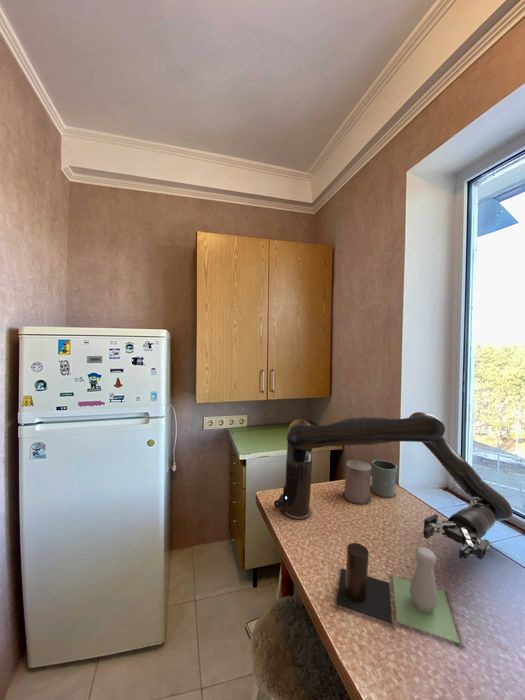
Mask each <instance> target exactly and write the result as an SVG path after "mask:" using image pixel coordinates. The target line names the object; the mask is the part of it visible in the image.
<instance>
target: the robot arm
mask: <svg viewBox="0 0 525 700" xmlns="http://www.w3.org/2000/svg"><path fill="white" fill-rule="evenodd" d="M445 432H446V426H445V423H443V421H442V420H441V419H440V418H439V417H438V416H436V415H434V414H432V413H429V412H426V411H425V412H424V411H416V412H413V413H412V414H410V415H409V417H405V418H385V417H377V416H376V417H374V416H363V417H352V418H345V419H342V420H338V421H336V422H333V423H330V424H329V423H328V424H323V425H312V424H310V422H309V421H307V420H305V419H303V418H299V419H295V420H293V421H292V422H291V423H290V424H289V426H288V428H287V433H286V441H287V443H286V444H287V445H286V446H287V447H286V458H285V478H284V479H285V482H284V485H283V489H282V490H283V491H282V494H280V496H279V497H278V499H276V500H275V501H274V502H273V505H274V507H275V508H276V509H277V508H278V509H281V510H282V511H281V513H282V514H285V515H286V516H287V517H289V518H291V519H296V520H302V519H306V518H308V517H309V516H310V515H311V514H310V513H311V510H310V509H311V489H312V488H311V487H312V486H311V485H312V468H313V467H312V465H313V449H319V448H327V447H347V446H348V447H349V446H370V445H383V444H391V443H398V442H401V443H402V442H409V443H410V442H413V443H422V444H423V445H424V446H425V447H426V448H427V449H428V450H429V451H430V453H431V454H432V455H433V456H434V457H435V458H436V459H437V460H438V462H439V463H440V464H441V465H442V467H443V468H444V470H445V471H446V472H447V473H448V474H449V476H450V477H451V478H452V479H453V481H454V482H455V484H456V485H457V486H458V487H459V488H460V490H461V491H462V492H463V493H464V494H465V495H466V496H467V497H471V498H472V499H470V502H469V504H468V505H467V506H466V507H464V508H462V509H460V510H458V511H457V512H455V513H454V514H452V515H450V517H449V518H448V519H447V520H441V519H440V518H439V516H438V515H437V514H433V515H431V516H429V517H426V518H424V519H423V520H424V521H423V531H422V532H423V533H422V534H423V537H424V538H425V539H426V540H428V539H430V538H431V537H433V536H434V535H437V536H439V538H440V537H441V538H442V537H443V538H448V539H451V540H453V541H454V542H455V543H458V544H460V545H462V547H460V548H459V551H458V558H460V559H461V560H464V559H469V557H470V556H473V557H474V556H476V558H477V559H479V560H483V559H484V558H485V556H486V555H487V554H488V553H489V551H490V541H489V540H488V539H486V538H484V539H482V538H483V537H484V536H486V534H487V533H488V531H489V530H491V529H492V528H493V527H494V525H495V523H496V522H500V521H508V520H510V519H512V517H513V515H514V511H513V508H512V505H511V504H510V503H509V501H508V500H507V499H506V498H505V497H504V496H503V495H502V494H501V493H499V492H498V491H497V490H495V489H494V488H493V487H492V486H490V485H489V484H488V483H486V482H485V481H484V480H483V479H482V478H481V476H480V475H479V474H478V473H477V471H476V470H475V469H474V468H473V467H472V466H471V464H470V463H468V461H466V460H465V458H463V457H462V456H461V454H460V453H458V452H457V450H455V449H454V447H452V446H451V445H450V444H449V442H448V441H447V440H446V439H445V438H444V435H445ZM475 545H477V546H475Z"/></svg>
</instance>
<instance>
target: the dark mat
mask: <svg viewBox="0 0 525 700" xmlns="http://www.w3.org/2000/svg"><path fill="white" fill-rule="evenodd" d="M345 580H346V568H340V576H339V582H338V583H339V584H338V591H337V597H336V606H340V607H342V608H345V609H348V610H351V611H354V612H356V613H359V614H362V615H365V616H368V617H371V618H374V619H376V620H378V621H382V622H385V623H388V624H391V625H392V624H393V619H392V602H391V591H390V590H391V589H390V582H387V581H384V580H381V579H377V578H374V577H371V576H368V575H367V591H366V599H365V601H363V602H360V603H359V602H354V601H352V600H350V599H349V598H348V597H347V595H346V593H345Z"/></svg>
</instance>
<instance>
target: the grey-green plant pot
mask: <svg viewBox="0 0 525 700" xmlns="http://www.w3.org/2000/svg"><path fill="white" fill-rule="evenodd" d="M370 465H371V491H372V492H373V494H375V495H377V496H379V497H382V498H392V497H394V495H395V487H396V478H397V471H398V466H397V464H396V463H394V462H392V461H389V460H385V459H373V460H372V461H371V463H370Z"/></svg>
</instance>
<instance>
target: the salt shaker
mask: <svg viewBox="0 0 525 700" xmlns="http://www.w3.org/2000/svg"><path fill="white" fill-rule="evenodd" d="M414 554H415V560H416V561H417V562H416V564H415V565H416V566H415V569H414V573H413V577H412V580H411V581H412V584H411V587H410V594H411V597H412V600H413V603H414V605H415V606H416V607H417V608H418V609H419V610H420V611H423V612H428V613H430V612H431V610H432V609H433V608H434V607H435V606H436V605H437V601H438V599H437V592H436V589H437V586H436V577H435V570H434V567H435V566H436V564H437V556H436V554H435V552H433V551H432V550H431V549H429V548H427V547H423V546H420V547H418V548H416V549H415V553H414Z"/></svg>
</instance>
